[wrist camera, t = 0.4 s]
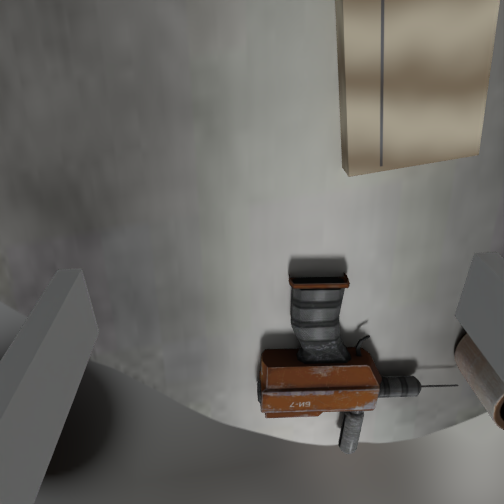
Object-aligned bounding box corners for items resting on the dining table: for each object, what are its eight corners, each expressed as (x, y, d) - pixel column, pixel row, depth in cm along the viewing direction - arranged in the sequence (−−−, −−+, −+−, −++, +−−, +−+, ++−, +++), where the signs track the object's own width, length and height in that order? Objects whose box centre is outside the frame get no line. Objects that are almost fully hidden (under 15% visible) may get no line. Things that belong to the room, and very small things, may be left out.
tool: (263, 287, 44) (256, 466, 58) (507, 284, 45) (442, 458, 59) (260, 268, 47) (254, 441, 61) (486, 265, 49) (430, 434, 63)
